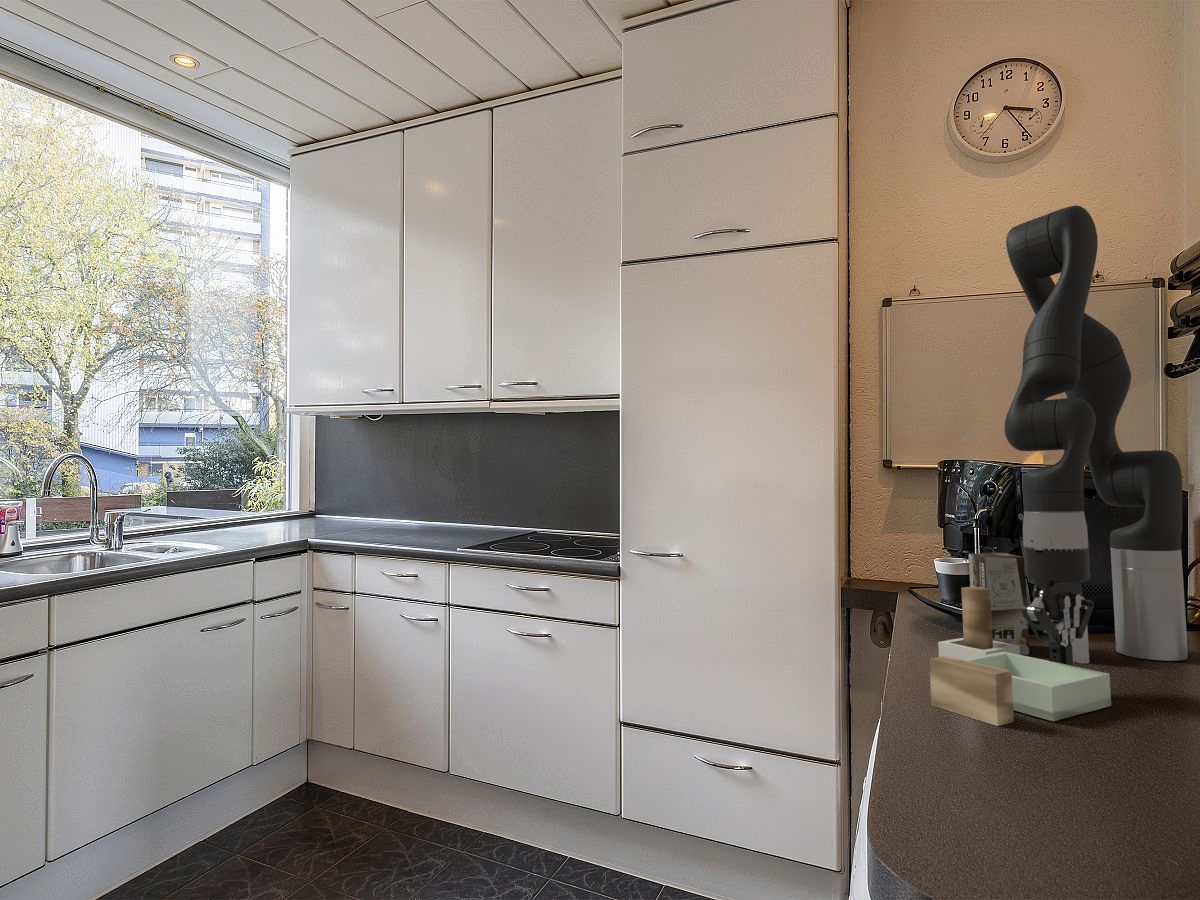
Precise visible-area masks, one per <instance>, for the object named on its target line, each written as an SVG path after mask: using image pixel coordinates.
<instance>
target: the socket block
mask: <svg viewBox="0 0 1200 900" xmlns="http://www.w3.org/2000/svg"><path fill="white" fill-rule="evenodd" d="M937 644H938V645H937V646H938V657H940V656H949V657H954V658H958V659H966V658H971V657H977V656H982V655H988V654H993V653H998V652H1008V653H1013V654H1018V655H1020V646H1018V645H1013V644H1008V643H1003V642H998V641H993V648H992V649H986V650H981V649H977V648H972V647H967V646H964V637H960V638H954V639H953V638H952V639H946V640H942V641H938V642H937Z"/></svg>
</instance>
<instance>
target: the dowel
mask: <svg viewBox="0 0 1200 900" xmlns="http://www.w3.org/2000/svg"><path fill="white" fill-rule="evenodd" d="M961 609H962V611H961V612H962V632H963V637H962V638H964V646H967V647H972V648H977V649H981V650H986V649H992V648H993V637H992V615H991V594H990V589H988V588H981V587H970V586H965V587H961Z"/></svg>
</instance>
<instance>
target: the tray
mask: <svg viewBox="0 0 1200 900" xmlns="http://www.w3.org/2000/svg"><path fill="white" fill-rule="evenodd" d="M962 660H967V661H971V662H975V663H979V664H984V665H988V666H992V667H997V668H1001V669H1005V670H1010V671H1011V672H1012V693H1013V711H1016V712H1020V713H1022V714H1026V715H1028V716H1033V717H1037V718H1040V719H1043V720H1046V721H1050V722H1056V721H1060V720H1063V719H1068V718H1071V717H1074V716H1078V715H1082V714H1086V713H1090V712H1093V711H1097V710H1101V709H1104V708H1108V707H1112V696H1111V695H1112V694H1111V678H1110V677H1111V675H1110V673H1109V672H1108V673H1107V672H1103V671H1099V670H1095V669H1089V668H1084V667H1079V666H1075V665H1073V666H1070V665H1066V664H1061V663H1056V662H1051V661H1050V660H1046V659H1040V658H1036V657H1031V656H1028V655H1018V654H1013V653H1008V652H998V653H993V654H988V655H982V656H977V657H971V658H966V659H962Z"/></svg>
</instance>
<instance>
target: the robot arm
mask: <svg viewBox="0 0 1200 900" xmlns="http://www.w3.org/2000/svg"><path fill="white" fill-rule="evenodd" d="M1097 233H1098V232H1097V227H1096V224H1095V222H1094V219H1093V217H1092V216H1091V214H1090V213H1089V211H1088V210H1087V209H1086V208H1085V207H1083V206H1080V205H1071V206H1066V207H1062V208H1060V209H1057V210H1054V211H1052V212H1049V213H1047V214H1044V215H1041V216H1039V217H1036V218H1032V219H1030V220H1028V221H1024V222H1023V223H1020V224H1018V225H1015V226H1013V227H1012V228H1010V230H1008V232H1007V234H1006V238H1005V239H1006V241H1005V245H1006V251H1007V256H1008V258H1009V262H1010V265H1011V267H1012V269H1013V271H1014V273H1015V276H1016V277H1017V280H1018V282H1019V284H1020V287H1021V289H1022V290H1023V292H1024V294H1025V297H1026V298H1027V300H1028V302H1029V304H1030V306H1031V308H1032V311H1033V313H1034V314H1035V316H1034V317H1033V320H1031V323H1030V325H1029V326H1028V329H1027V331H1026V333H1025V335H1024V336H1025V337H1024V341H1023V348H1022V349H1023V350H1022V365H1021V366H1022V367H1021V368H1022V370H1021V376H1020V377H1021V378H1020V379H1019V380H1020V381H1019V384H1018V387H1017V389H1016V392H1015V395H1014V397H1013V399H1012V401H1011V403H1010V406H1009V408H1008V411H1007V414H1006V417H1005V419H1004V434H1005V437H1006V440H1007V442H1008V443H1009V445H1010V446H1011V448H1014V449H1015V450H1017V451H1021V452H1042V451H1043V452H1044V451H1063V455H1062V457H1061V458H1060V459H1059V461H1058V462H1056V463H1054V464H1050V465H1047V466H1043V467H1038V468H1032V469H1029V470H1027V471H1026V472H1025V473H1024V474H1023V475H1022V497H1023V500H1022V501H1023V502H1022V503H1023V519H1022V520H1023V521H1022V541H1023V542H1022V543H1023V545H1022V546H1023V557H1024V565H1025V575H1026V578H1028V579H1030V580H1033V581H1034V585H1033V590H1032V599H1033V601H1032V602H1031V604H1030V605H1027V606H1025V605H1024V606H1023V607H1022V613H1023V615H1024V617H1025V618H1026V620H1027V622H1028V626H1029V627H1030V628H1031V631H1032V632H1033V634H1034V635H1035V637H1036V639H1037V640H1038V641H1042V642H1045V643H1046V644H1047V645H1048V651H1049V652H1048V653H1049V661H1051V662H1056V663H1061V664H1066V665H1070V666H1074V662H1073V653H1072V645H1074V644H1075V642H1076V639H1077V638H1078V639H1082V637H1083V635H1084V632H1085V629H1086V627H1087V628H1088V624H1089V621H1090V617H1091V615H1092V613H1093V609H1094V606H1095V602H1094V600H1093V599H1091V600H1090V599H1085V598H1084V596H1083V588H1082V586H1081V582H1087V581H1089V580H1090V579H1091V570H1090V569H1091V567H1090V550H1089V548H1090V547H1089V536H1088V535H1089V534H1088V524H1087V521H1086V515H1085V502H1084V500H1085V498H1084V473H1085V472H1084V471H1085V467H1086V463H1088V466H1089V471H1090V474H1091V477H1092V481H1093V484H1094V487H1095V489H1096V492H1097V494H1098V495H1099V497H1100V499H1102V501H1103V502H1104V503H1105V504H1107V505H1109V506H1114V507H1128V508H1130V507H1131V508H1134V507H1135V508H1136V507H1137V508H1144V513H1143V516H1142V517H1141V518H1140V519H1139V520H1138V521H1136V522H1134V523H1132V524H1130V525H1127V526H1123V527H1119V528H1116V529H1113V530H1112V531H1111V532H1110V534H1109V546H1110V547H1109V548H1110V558H1111V559H1110V561H1111V562H1110V565H1111V579H1112V580H1111V582H1112V595H1113V597H1112V598H1113V600H1112V601H1113V615H1114V634H1115V635H1114V637H1115V651H1116V652H1117V653H1119V654H1122V655H1124V656H1127V657H1132V658H1136V659H1137V658H1138V659H1144V660H1153V661H1166V662H1167V661H1168V662H1172V661H1173V662H1174V661H1175V662H1177V661H1184V660H1188V657H1189V656H1188V652H1189V651H1188V650H1189V649H1188V637H1187V619H1186V606H1185V605H1186V603H1185V589H1184V587H1185V586H1184V574H1183V558H1182V557H1183V555H1182V534H1183V474H1182V468H1181V464H1180V462H1179V460H1178V459H1177V457H1176V456H1175V455H1174V454H1173V453H1172V452H1170V451H1168V450H1164V449H1163V450H1161V449H1160V450H1158V449H1157V450H1156V449H1155V450H1131V451H1122V450H1121V448H1120V446H1119V443H1118V439H1117V436H1116V423H1117V421H1118V420H1117V419H1118V416H1119V413H1120V412H1121V409H1122V407H1123V405H1124V402H1125V401H1126V398H1127V396H1128V394H1129V393H1128V392H1129V391H1130V387H1131V382H1132V372H1131V368H1130V366H1129V363H1128V360H1127V357H1126V355H1125V353H1124V349H1123V345H1122V344H1121V341H1120V339H1119V338H1118V336H1117V335H1116V334H1115V333H1114V332H1113V331H1112V330H1111V329H1109V327H1107V326H1105V325H1104V324H1102V323H1101V322H1100V321H1098V320H1097V319H1095V318H1094V317H1092V316H1090V314H1087V313H1085V311H1086V307H1087V306H1086V305H1087V302H1088V297H1089V294H1090V289H1091V286H1092V280H1093V275H1094V270H1095V267H1096V266H1095V265H1096V260H1097V254H1098V246H1099V245H1098V243H1099V242H1098V240H1099V239H1098V234H1097ZM1057 274H1060V275H1059V277H1058V279H1057V281H1056V284H1055V282H1054V280H1053V278H1052V276H1054V275H1057ZM1063 393H1065V394H1064V395H1066V398H1055V399H1049V398H1051V397H1054V396H1057V395H1061V394H1063ZM1086 461H1087V462H1086Z"/></svg>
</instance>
